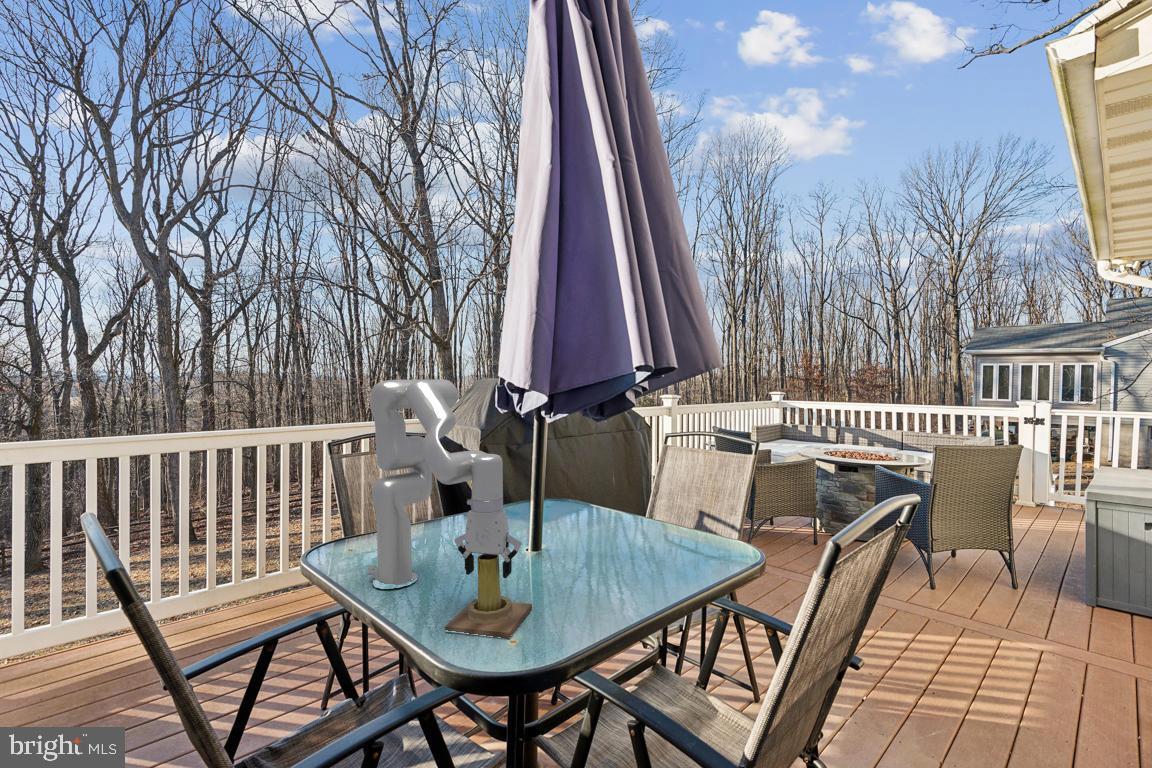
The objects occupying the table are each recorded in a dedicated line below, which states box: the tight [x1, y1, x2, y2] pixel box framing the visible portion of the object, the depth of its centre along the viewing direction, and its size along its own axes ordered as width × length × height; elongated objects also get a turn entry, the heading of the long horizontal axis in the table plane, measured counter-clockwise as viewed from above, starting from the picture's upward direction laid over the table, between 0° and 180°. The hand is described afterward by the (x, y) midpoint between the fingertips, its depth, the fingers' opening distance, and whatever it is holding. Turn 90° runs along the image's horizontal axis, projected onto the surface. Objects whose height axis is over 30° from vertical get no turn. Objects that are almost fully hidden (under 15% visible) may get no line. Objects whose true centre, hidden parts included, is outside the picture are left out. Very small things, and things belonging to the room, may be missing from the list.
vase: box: [477, 554, 502, 612], centre depth 131 cm, size 6×6×14 cm
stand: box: [444, 595, 533, 640], centre depth 131 cm, size 16×16×4 cm
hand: (488, 574), depth 131 cm, fingers open, 9 cm apart
